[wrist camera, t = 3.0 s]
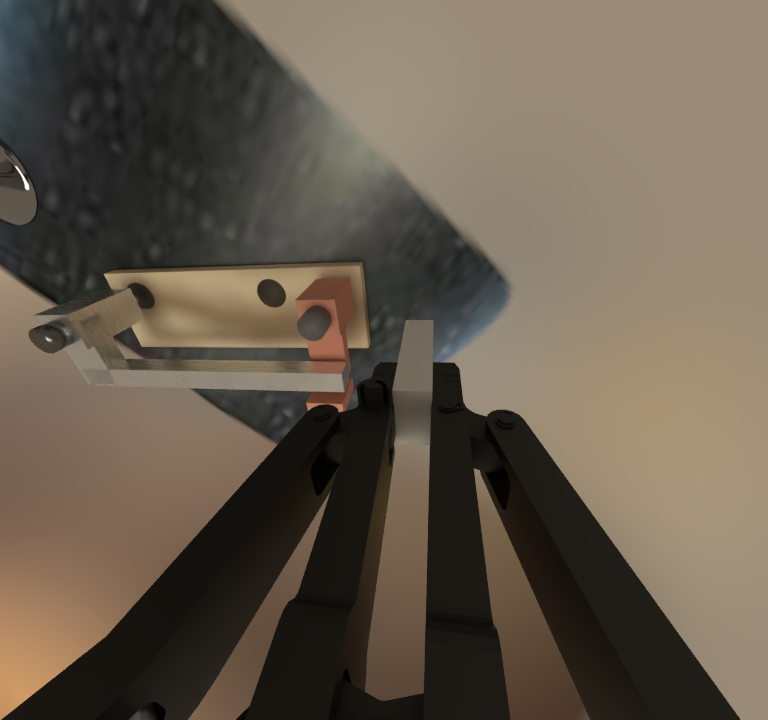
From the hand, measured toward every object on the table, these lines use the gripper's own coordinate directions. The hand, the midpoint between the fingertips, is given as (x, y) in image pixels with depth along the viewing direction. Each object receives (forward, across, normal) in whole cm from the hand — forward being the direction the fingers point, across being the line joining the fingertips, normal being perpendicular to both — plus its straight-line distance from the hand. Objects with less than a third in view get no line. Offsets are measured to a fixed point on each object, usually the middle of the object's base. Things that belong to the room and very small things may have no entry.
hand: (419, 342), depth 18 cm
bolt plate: (+9, -16, -1) cm, 18 cm away
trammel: (+7, -15, -1) cm, 17 cm away
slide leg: (+7, -7, -2) cm, 10 cm away
